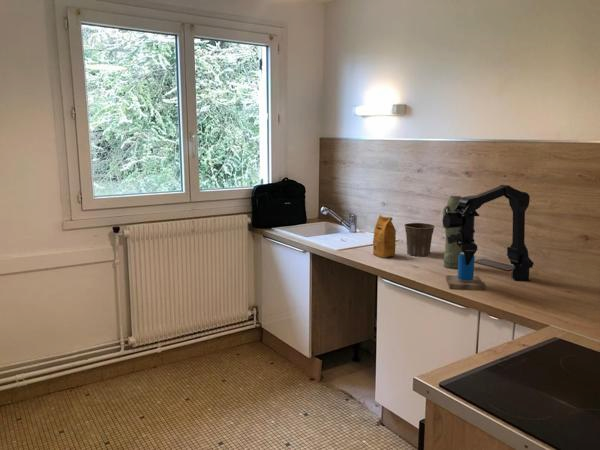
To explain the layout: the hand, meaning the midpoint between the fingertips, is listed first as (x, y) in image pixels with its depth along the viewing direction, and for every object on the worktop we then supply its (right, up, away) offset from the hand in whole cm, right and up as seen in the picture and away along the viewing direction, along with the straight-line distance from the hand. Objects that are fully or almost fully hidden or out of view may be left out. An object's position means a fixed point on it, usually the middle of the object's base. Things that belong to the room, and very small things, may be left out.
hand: (465, 262), depth 216 cm
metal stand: (0, -10, +2) cm, 10 cm away
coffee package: (-26, -1, +57) cm, 63 cm away
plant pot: (-6, 0, +60) cm, 60 cm away
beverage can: (0, -8, +1) cm, 8 cm away
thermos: (+4, -5, +32) cm, 33 cm away
